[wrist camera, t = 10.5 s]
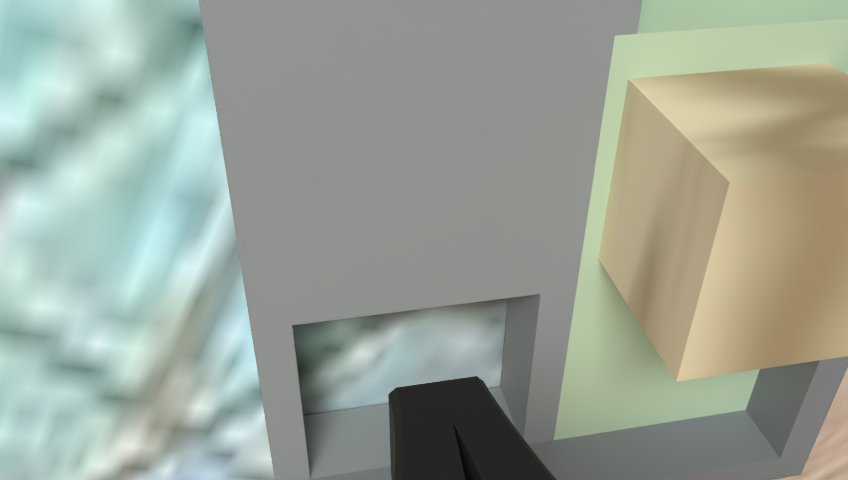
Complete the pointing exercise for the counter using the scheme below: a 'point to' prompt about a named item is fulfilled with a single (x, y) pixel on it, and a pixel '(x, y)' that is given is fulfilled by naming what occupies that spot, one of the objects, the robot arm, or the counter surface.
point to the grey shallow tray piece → (488, 214)
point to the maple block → (733, 217)
